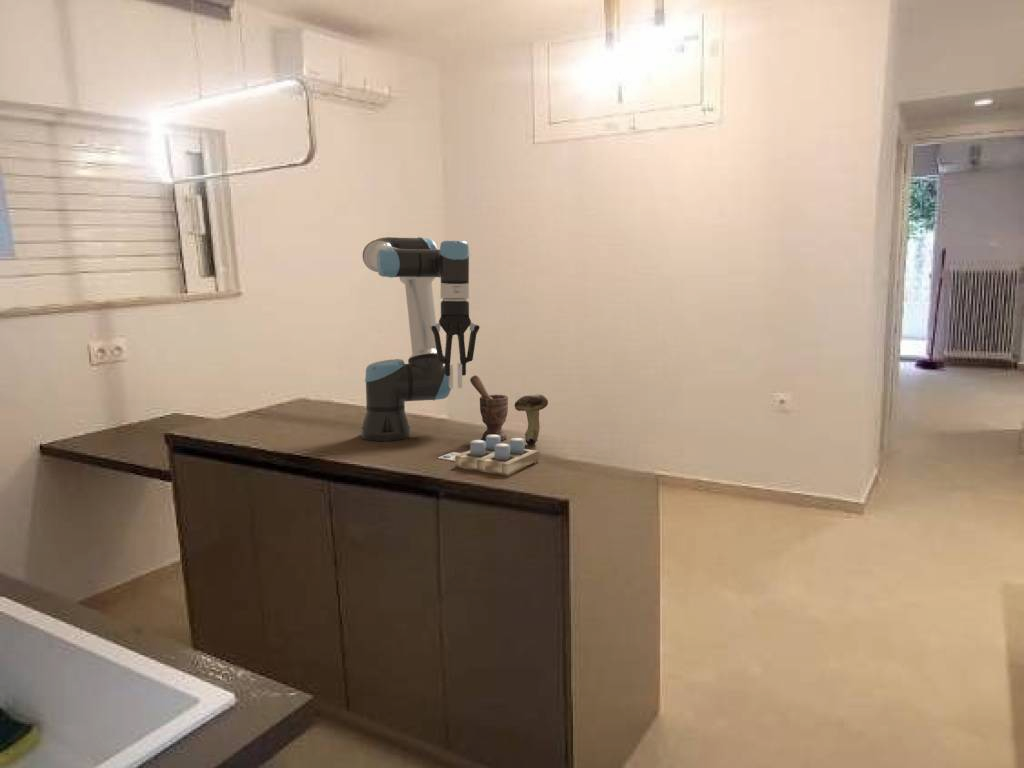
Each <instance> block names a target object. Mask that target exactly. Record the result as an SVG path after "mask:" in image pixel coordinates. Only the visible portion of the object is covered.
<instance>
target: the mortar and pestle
mask: <svg viewBox="0 0 1024 768" xmlns="http://www.w3.org/2000/svg"><path fill="white" fill-rule="evenodd" d="M469 381H470V383H471V385H472V386H473V388H474V389H475V390H476V391H477V392H478V393H479V394H480V397H479V410H480V411H479V412H480V414H481V415H480V416H481V421H482V422H483V424H484V425H486V430H485V431H484V432H483V433H482V440H483V441H486V436H487V435H499V436H501V441H504V440H506V439H507V433H506V432H505V431H504V430H503V429H502V426H503V425H504V424H505V422H506V421H507V417H508V412H509V396H508V395H503V394H489V393H488V391H487V389H486V386H485V385H484V383H483V381H482V380H481V378H480V377H479V376H478V375H476V374H475V375H473V376H471V377H470V379H469Z"/></svg>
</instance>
